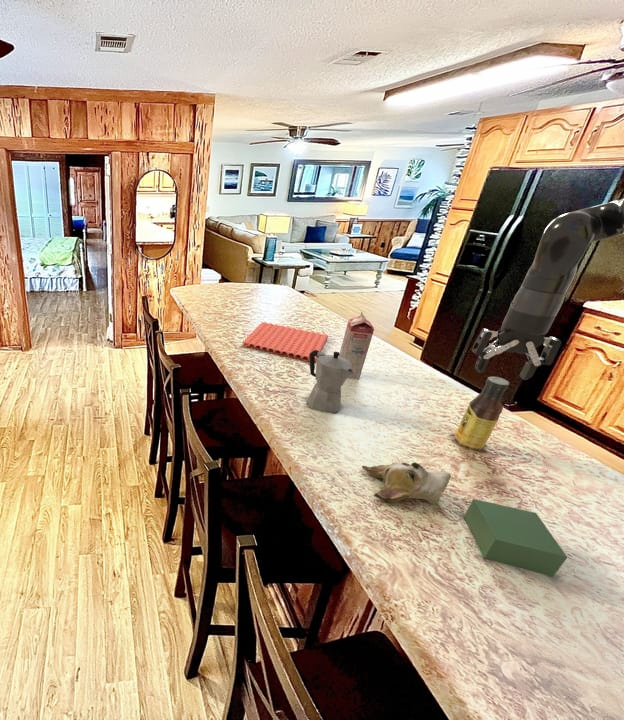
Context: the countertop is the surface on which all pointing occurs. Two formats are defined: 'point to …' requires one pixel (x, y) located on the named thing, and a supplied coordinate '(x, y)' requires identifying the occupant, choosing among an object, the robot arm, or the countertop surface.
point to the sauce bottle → (482, 415)
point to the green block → (514, 537)
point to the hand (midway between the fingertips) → (501, 374)
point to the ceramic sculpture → (409, 482)
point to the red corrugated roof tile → (285, 341)
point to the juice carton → (356, 343)
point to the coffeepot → (328, 380)
